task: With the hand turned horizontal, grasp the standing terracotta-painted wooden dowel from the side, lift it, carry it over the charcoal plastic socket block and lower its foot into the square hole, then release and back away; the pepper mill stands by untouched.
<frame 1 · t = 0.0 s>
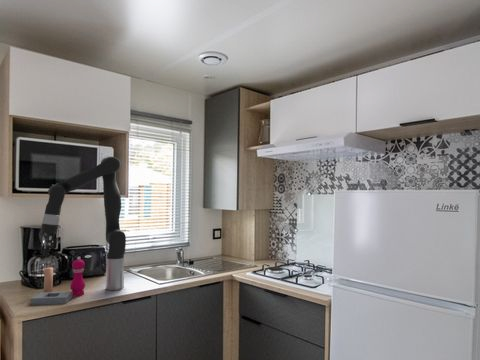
hand: (44, 255, 173), 22 cm above the table, tool pointing down, fingers open, 8 cm apart
dowel: (47, 294, 180), on the table
pepper mill: (77, 294, 181), on the table
socket block: (52, 300, 170), on the table
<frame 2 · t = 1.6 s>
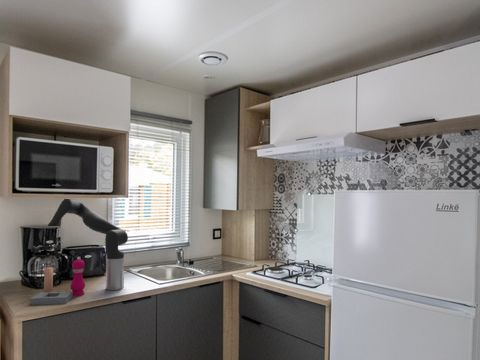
hand: (47, 249, 190), 22 cm above the table, tool horizontal, fingers open, 8 cm apart
nothing on the table moved.
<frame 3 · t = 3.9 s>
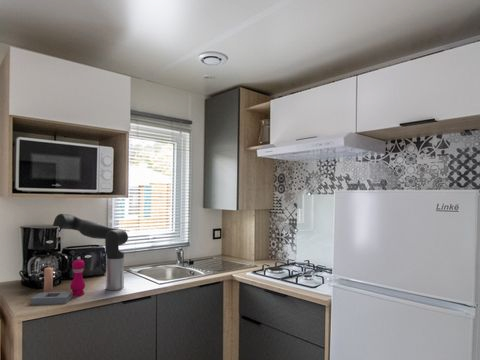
hand: (47, 277, 185), 8 cm above the table, tool horizontal, fingers open, 8 cm apart
nothing on the table moved.
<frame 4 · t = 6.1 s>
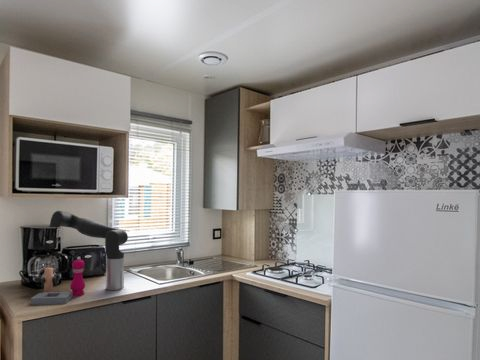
hand: (49, 280, 178), 8 cm above the table, tool horizontal, fingers closed on dowel, 4 cm apart
dowel: (47, 294, 180), on the table, touching gripper
everything else where it was.
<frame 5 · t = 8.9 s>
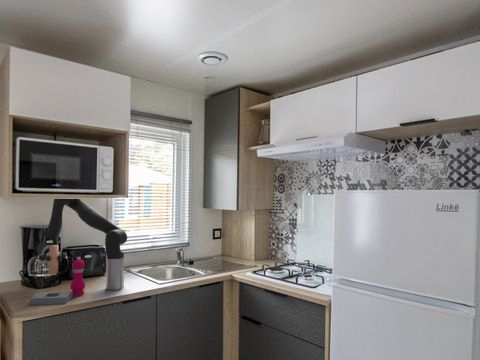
hand: (54, 258, 169), 21 cm above the table, tool horizontal, fingers closed on dowel, 4 cm apart
dowel: (53, 273, 171), point 13 cm above the table, touching gripper
everything else where it was.
when the fingers open (9 cm above the table, at t = 12.0 s): dowel stays where it is, resting in socket block.
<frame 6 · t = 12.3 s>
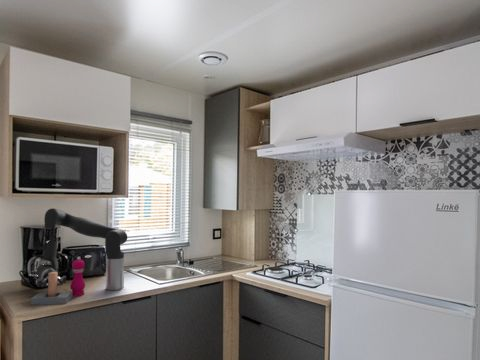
hand: (53, 283, 168), 9 cm above the table, tool horizontal, fingers open, 6 cm apart
dowel: (52, 300, 170), resting in socket block
everything else where it was.
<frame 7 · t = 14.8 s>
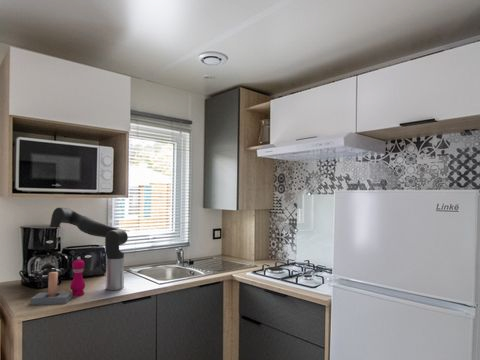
hand: (50, 275, 180), 10 cm above the table, tool horizontal, fingers open, 8 cm apart
nothing on the table moved.
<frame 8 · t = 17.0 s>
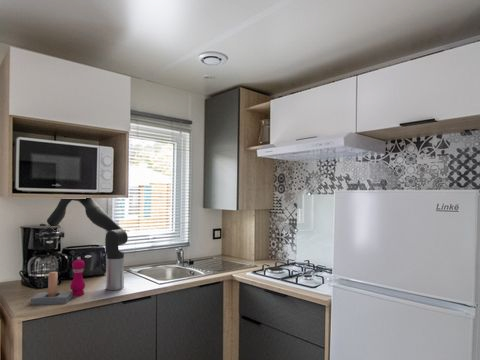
hand: (51, 236, 186), 30 cm above the table, tool horizontal, fingers open, 8 cm apart
nothing on the table moved.
at the end: dowel 0.1 cm off-centre on the socket block, point 0.0 cm above the socket block's base; dowel tilted 1°; the gripper is holding nothing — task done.
